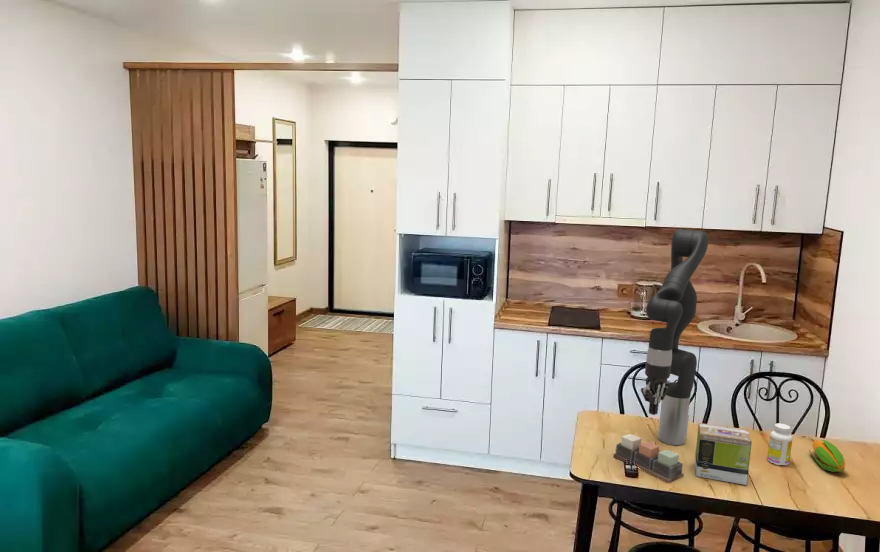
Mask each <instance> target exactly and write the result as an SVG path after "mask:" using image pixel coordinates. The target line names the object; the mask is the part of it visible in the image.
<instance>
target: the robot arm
mask: <svg viewBox="0 0 880 552" xmlns="http://www.w3.org/2000/svg"><path fill="white" fill-rule="evenodd" d="M708 245H709V237H708V234H707V232H705V231H702V230H696V229H695V230H691V229H682V228H677V229H675V230H674V232H673V233H672V238H671V246H670V248H671V249H670V252H671V253H670V270H669V271H668V273H667V274H666V275H665V277H664V280H663V282H662V284H661V286H660V288H659V290H658V291H657V292H656V293H655V294H654V295H653V296H652V297H651V298H650V300H649V301H648V303H647V305H646V309H645V313H646V316H647V318H648V319H649V320H651V321H656V322H662V323H666V325H665V327H653V328H652V329H651V330H650V332H649V339H648V348H647V351H646V357H645V358H646V359H645V370H644V374H645V376H646V377H647V380H646V383H645V387H641V388H640V392H641V394H642V397H643V399H644V401H645V402H648V403H649V405H648V406H649V407H648V413H649V414H650V415H653V416H655V415H658V412H659V404H660V403H661V404H660V414H659V415H660V416H659V425H658V431H657V432H658V434H657V439H658V440H659V441H660V442H661V443H664V444H667V445H671V446H681V445H684V444H685V443H686V440H687V436H688V427H689V426H688V425H689V418H690V417H689V416H690V415H689V413H690V412H689V410H690V401H691V395H692V391H693V388H694V384H695V377H696V371H697V364H698V362H697V361H698V359H697V356H696V354H695V353H693V352H690V351H687V350H684V349H681V348H679V343H680V337H681V335H682V334H683V332H684V331H685V330H686V328H687V327H688V326H689V325H690V324H691V322H692V321H693V320H694V318H695V316H696V313H697V304H698V303H697V302H698V295H697V292H696V289H695V287H694V286H693V283H692V282H691V278H692V275H693V274H694V273H695V272H696V270H697V268H698V267H699V265H700V264H701V262H702V260H703V258H704V257H705V255H706V252H707V251H708ZM683 258H686V259H684V260H683ZM671 375H673V376H675V377H677V381H674V382H672V381H671V382H667V380H668V379H669V378H670V377H671Z"/></svg>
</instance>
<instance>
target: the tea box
mask: <svg viewBox="0 0 880 552" xmlns="http://www.w3.org/2000/svg"><path fill="white" fill-rule="evenodd" d="M697 425H698V426H697V438H696V446H695V455H694V468H695V469H694V470H695V476H696V477H698V478H704V479H709V480H710V479H711V480H716V481H721V482H728V483H732V484H733V483H734V484H738V485H744V486H747V484H748V480H749V479H748V478H749V468H750V463H751V461H750V460H751V453H752V445H753V444H752V439H751V436H750V433H749V430H748V429H745V428H744V429H743V428H737V427H728V426H722V425H718V424H716V425H715V424H709V423H703V422H699V423H698V424H697Z"/></svg>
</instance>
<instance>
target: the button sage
mask: <svg viewBox="0 0 880 552" xmlns="http://www.w3.org/2000/svg"><path fill="white" fill-rule="evenodd" d="M679 457H680V454H678V453H676V452H673V451H672V450H669V449H665V450H662V451H659V453H658V461H657V462H659V463H662V464H664V465H666V466H668V467H672V466H675V465H677V464H678V462H679Z"/></svg>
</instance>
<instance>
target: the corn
mask: <svg viewBox="0 0 880 552" xmlns="http://www.w3.org/2000/svg"><path fill="white" fill-rule="evenodd" d="M821 440H822V441H821ZM821 440H813V442H812V448H813V451H814V453H815V455H816V456H814V454H813V453H812V452H811V451H810V449H808V451H809V454H810V455H811V456H812V458H813V459H814V461H815V462H816V463H817V464H818V465H819V466H820V468H821V469H823V470H824V469H825V471H826V470H828V471H827V472H829V471H831V473H833V472H834V473H836V472H837V473H841V472H843V471H844V470H845V468H846V460H845V458H844V455H843V454H842V453H841V451H840V450H839V449H838V447H837V446H836V445H834V444H833V443H832V442H830V441H827V440H826V439H821ZM835 471H836V472H835Z"/></svg>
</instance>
